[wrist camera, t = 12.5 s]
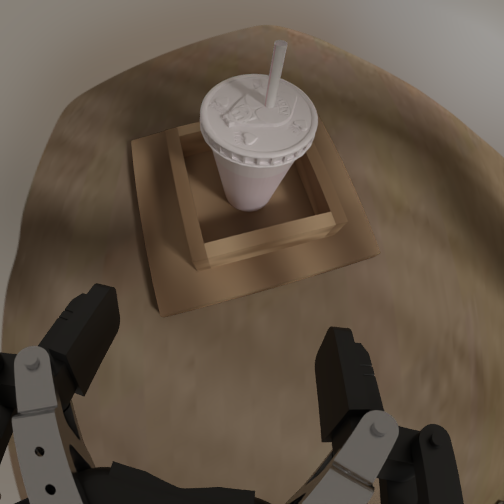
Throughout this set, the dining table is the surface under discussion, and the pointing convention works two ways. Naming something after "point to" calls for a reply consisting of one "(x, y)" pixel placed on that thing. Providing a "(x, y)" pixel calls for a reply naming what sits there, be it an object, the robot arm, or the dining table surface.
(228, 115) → the smoothie
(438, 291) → the dining table surface
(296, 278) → the open wooden box
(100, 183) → the dining table surface
